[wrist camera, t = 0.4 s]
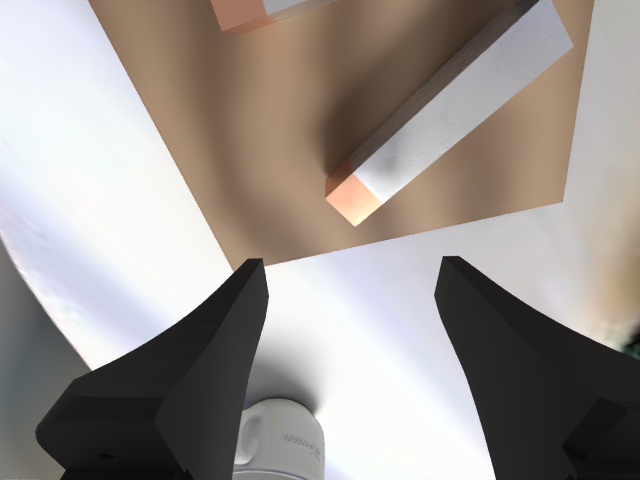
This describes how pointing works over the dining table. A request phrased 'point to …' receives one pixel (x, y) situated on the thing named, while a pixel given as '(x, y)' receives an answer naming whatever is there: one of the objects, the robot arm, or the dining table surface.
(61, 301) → the dining table surface
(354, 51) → the board
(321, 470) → the teacup
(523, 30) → the tong arm
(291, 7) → the tongs fixed half
